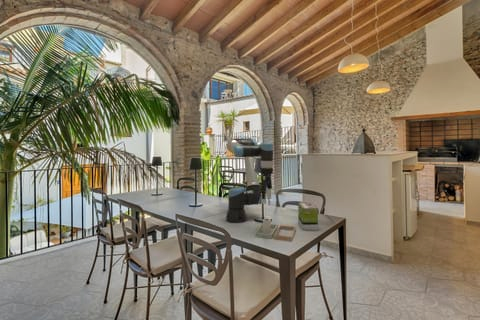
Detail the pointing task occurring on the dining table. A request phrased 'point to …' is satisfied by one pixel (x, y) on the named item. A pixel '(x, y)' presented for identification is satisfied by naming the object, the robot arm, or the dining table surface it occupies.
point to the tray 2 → (287, 238)
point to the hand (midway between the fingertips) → (266, 201)
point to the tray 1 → (265, 233)
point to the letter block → (267, 226)
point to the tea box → (308, 216)
